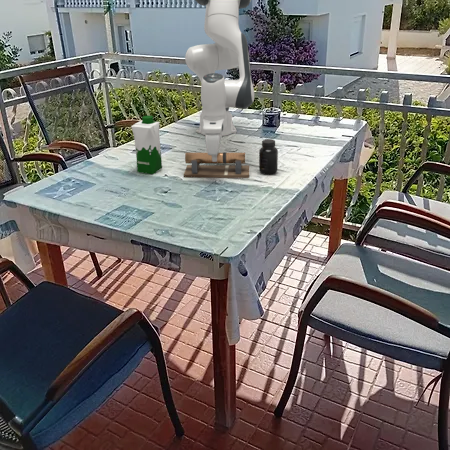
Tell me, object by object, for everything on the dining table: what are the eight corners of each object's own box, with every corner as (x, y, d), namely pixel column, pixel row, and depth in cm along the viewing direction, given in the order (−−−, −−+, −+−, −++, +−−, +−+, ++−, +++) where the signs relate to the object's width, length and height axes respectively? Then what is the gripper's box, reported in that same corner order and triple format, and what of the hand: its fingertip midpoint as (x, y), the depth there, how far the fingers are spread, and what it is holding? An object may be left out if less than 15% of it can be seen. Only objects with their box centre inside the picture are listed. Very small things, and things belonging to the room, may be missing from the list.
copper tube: (185, 164, 176) (184, 153, 174) (186, 162, 180) (186, 151, 178) (245, 164, 174) (245, 153, 173) (245, 162, 178) (245, 151, 177)
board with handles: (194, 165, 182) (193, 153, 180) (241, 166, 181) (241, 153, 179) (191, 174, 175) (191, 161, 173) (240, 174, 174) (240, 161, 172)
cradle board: (187, 167, 184) (187, 164, 183) (249, 167, 182) (249, 165, 182) (183, 177, 175) (183, 174, 175) (249, 177, 174) (249, 175, 173)
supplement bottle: (267, 167, 183) (268, 136, 177) (281, 171, 178) (282, 140, 173) (255, 172, 179) (255, 141, 173) (269, 176, 174) (269, 145, 169)
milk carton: (165, 167, 184) (161, 116, 175) (154, 175, 177) (149, 122, 168) (145, 164, 187) (140, 114, 178) (133, 173, 180) (127, 120, 170)
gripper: (208, 114, 179) (209, 149, 186) (202, 130, 161) (204, 168, 168) (224, 114, 179) (225, 149, 185) (221, 130, 161) (221, 168, 167)
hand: (215, 158), depth 176 cm, fingers closed on copper tube, 4 cm apart
